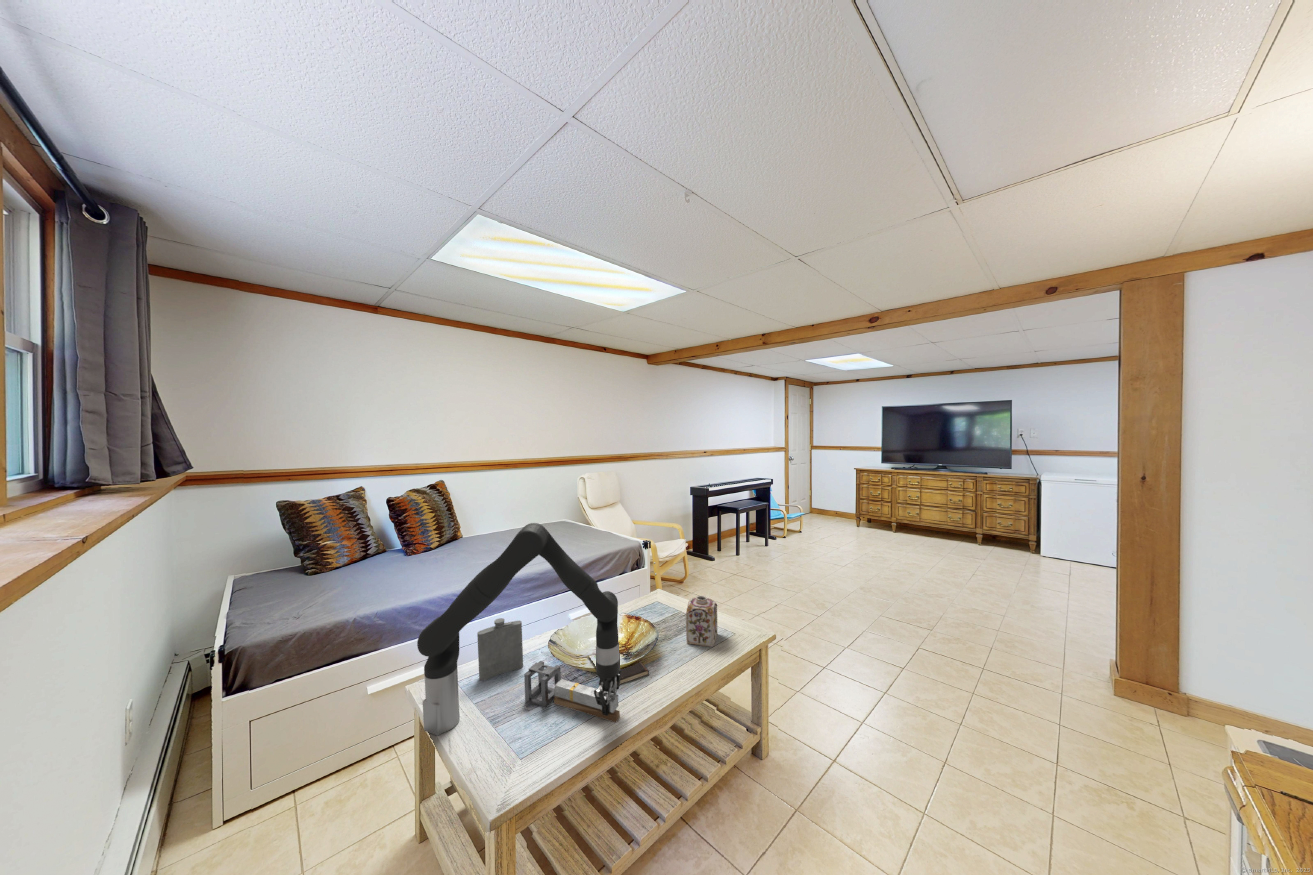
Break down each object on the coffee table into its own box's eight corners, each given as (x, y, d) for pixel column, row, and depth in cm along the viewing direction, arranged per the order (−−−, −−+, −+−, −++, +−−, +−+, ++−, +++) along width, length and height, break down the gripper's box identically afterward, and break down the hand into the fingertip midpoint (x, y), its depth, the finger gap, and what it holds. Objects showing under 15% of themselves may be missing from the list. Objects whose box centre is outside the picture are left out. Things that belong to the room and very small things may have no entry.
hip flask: (480, 681, 153) (477, 628, 152) (478, 676, 157) (475, 623, 156) (524, 667, 162) (522, 616, 161) (521, 662, 165) (519, 612, 164)
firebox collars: (545, 708, 138) (544, 678, 138) (525, 701, 142) (524, 672, 141) (561, 692, 146) (560, 664, 146) (541, 686, 150) (540, 658, 149)
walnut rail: (615, 722, 131) (615, 716, 131) (554, 703, 141) (554, 697, 141) (619, 716, 134) (619, 710, 134) (559, 698, 143) (558, 692, 143)
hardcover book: (609, 689, 148) (609, 683, 148) (587, 657, 168) (586, 652, 168) (649, 675, 156) (648, 669, 156) (623, 646, 176) (623, 641, 176)
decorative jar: (685, 643, 176) (685, 601, 175) (691, 630, 187) (690, 590, 186) (714, 647, 173) (713, 605, 172) (718, 633, 184) (717, 593, 183)
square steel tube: (618, 705, 134) (618, 693, 134) (612, 713, 131) (612, 701, 131) (561, 689, 143) (561, 678, 143) (554, 695, 139) (554, 684, 139)
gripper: (606, 672, 125) (608, 728, 126) (628, 648, 138) (629, 699, 139) (585, 667, 128) (586, 721, 129) (608, 643, 141) (609, 693, 141)
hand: (609, 709), depth 134 cm, fingers closed on square steel tube, 3 cm apart
